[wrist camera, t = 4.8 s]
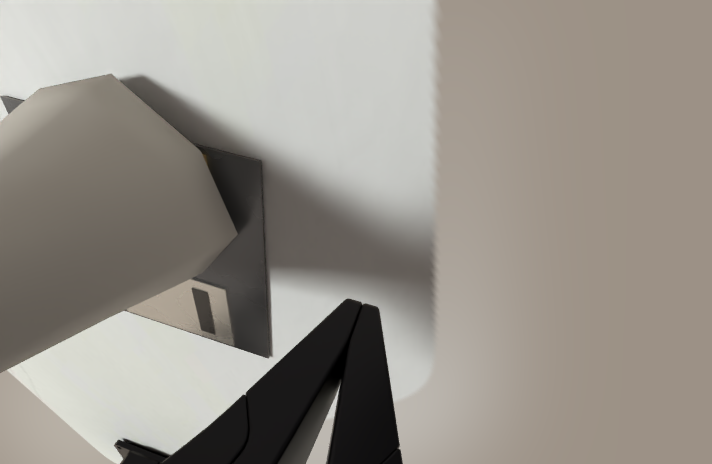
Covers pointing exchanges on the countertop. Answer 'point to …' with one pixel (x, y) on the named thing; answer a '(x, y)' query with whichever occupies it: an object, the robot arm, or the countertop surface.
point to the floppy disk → (222, 265)
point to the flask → (96, 212)
